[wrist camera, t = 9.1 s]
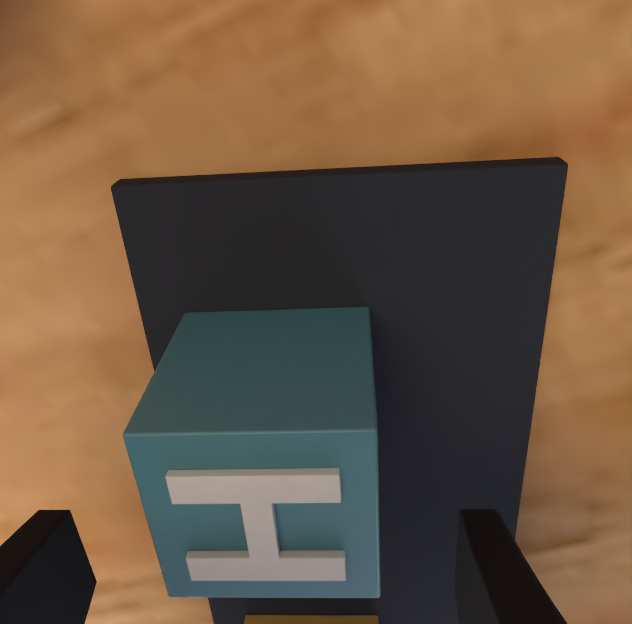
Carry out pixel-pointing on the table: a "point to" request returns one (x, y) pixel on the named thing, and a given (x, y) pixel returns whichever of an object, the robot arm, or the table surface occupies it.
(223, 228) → the word mat
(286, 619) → the block
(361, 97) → the table surface
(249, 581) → the block
